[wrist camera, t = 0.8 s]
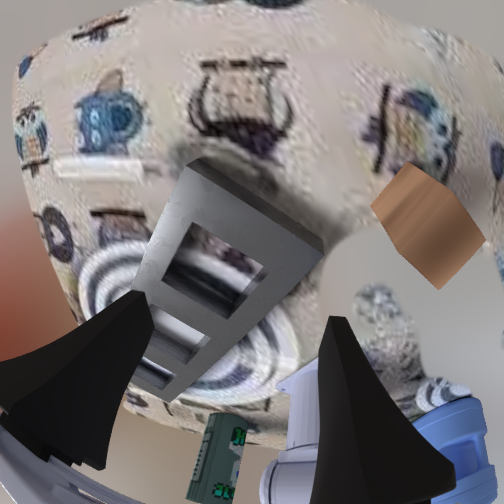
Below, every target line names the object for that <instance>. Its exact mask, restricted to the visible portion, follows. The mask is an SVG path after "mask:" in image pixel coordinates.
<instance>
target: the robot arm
mask: <svg viewBox="0 0 504 504" xmlns="http://www.w3.org/2000/svg"><path fill="white" fill-rule="evenodd" d="M154 327H155V326H154V323H153V320H152V316H151V313H150V309H149V306H148V302H147V299H146V295H145V292H143V291H138V290H131V291H129V292H128V293H126V294H125V295H123V296H122V297H120V298H119V299H117V300H116V301H115V302H113V303H112V304H110V305H109V306H108V307H106V308H105V309H103V310H102V311H101V312H99V313H98V314H96V315H95V316H94V317H92V318H91V319H89V320H88V321H86V322H85V323H83V324H82V325H80V326H79V327H77V328H76V329H74V330H73V331H71V332H69V333H68V334H66V335H65V336H63V337H61V338H59V339H57V340H56V341H54V342H52V343H50V344H48V345H45V346H44V347H41V348H39V349H37V350H35V351H32V352H30V353H27V354H25V355H22V356H19V357H16V358H13V359H9V360H6V361H1V362H0V408H1V409H2V410H3V412H2V414H1V413H0V483H1V484H2V486H3V487H4V488H5V490H6V491H7V492H8V494H9V495H10V496H11V498H12V499H13V500H14V501H15V503H16V504H105V503H107V504H144V503H142V502H139V501H137V500H134V499H132V498H129V497H127V496H125V495H123V494H120V493H118V492H116V491H114V490H112V489H110V488H108V487H106V486H104V485H101V484H100V483H98V482H96V481H94V480H92V479H90V478H89V477H87V476H85V475H83V474H82V473H80V472H78V471H77V470H75V469H73V468H72V467H71V465H72V463H75V464H77V465H78V466H81V464H82V462H83V463H85V464H87V465H89V466H91V467H92V468H94V469H96V470H98V471H99V470H103V469H105V466H106V458H107V452H108V446H109V441H110V437H111V433H112V428H113V425H114V421H115V418H116V415H117V411H118V408H119V405H120V403H121V400H122V397H123V394H124V392H125V390H126V388H127V386H128V384H129V382H130V380H131V378H132V376H133V374H134V372H135V370H136V368H137V366H138V364H139V362H140V361H141V359H142V357H143V355H144V353H145V351H146V349H147V347H148V344H149V341H150V339H151V336H152V333H153V330H154ZM276 389H277V390H280V391H282V392H285V393H287V394H290V395H291V401H290V412H289V422H288V432H287V441H286V450H285V451H280V452H279V459H275V460H273V461H272V462H271V463H270V464H269V465H268V466H267V467H266V468H265V470H264V472H263V475H262V478H261V482H260V491H259V493H260V501H261V504H431V499H432V498H435V497H437V496H440V495H443V494H445V493H447V492H450V491H452V490H454V489H455V488H456V486H457V485H456V473H455V467H454V463H452V462H451V461H450V460H449V459H447V458H446V457H445V456H444V455H443V454H441V453H440V452H439V451H438V450H437V449H435V448H434V447H433V446H432V445H431V444H430V443H429V442H428V441H427V440H426V439H425V438H424V437H423V436H422V435H421V434H420V432H419V431H418V430H417V429H416V428H415V427H414V426H413V425H412V424H411V422H410V421H409V420H408V419H407V418H406V417H405V415H404V414H403V413H402V412H401V410H400V409H399V408H398V406H397V405H396V404H395V402H394V401H393V400H392V398H391V397H390V395H389V394H388V392H387V391H386V389H385V388H384V386H383V385H382V383H381V382H380V380H379V378H378V377H377V375H376V374H375V372H374V370H373V368H372V367H371V365H370V363H369V361H368V360H367V358H366V356H365V354H364V352H363V350H362V349H361V347H360V345H359V343H358V341H357V339H356V337H355V335H354V333H353V331H352V329H351V327H350V324H349V322H348V320H347V319H346V317H340V316H329V318H328V322H327V325H326V328H325V332H324V335H323V338H322V342H321V345H320V348H319V353H318V357H317V358H316V359H314V360H313V361H311V362H310V363H308V364H307V365H306V366H304V367H303V368H301V369H300V370H298V371H297V372H295V373H294V374H292V375H290V376H289V377H287V378H286V379H284V380H283V381H281V382H279V383H278V384H276ZM78 488H80V489H81V490H83V491H85V492H87V493H88V494H90V495H92V496H94V497H96V498H97V499H99V500H101V501H103V502H105V503H103V502H101V501H99V500H97V499H95V498H92V497H90V496H88V495H85V494H83V493H81V492H79V490H78ZM454 504H460V502H457V503H454Z"/></svg>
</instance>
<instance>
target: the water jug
mask: <svg viewBox="0 0 504 504" xmlns="http://www.w3.org/2000/svg"><path fill="white" fill-rule="evenodd" d="M411 424H412V425H413V426H414V427H415V428H416V429H417V430H418V431H419V432H420V434H421V435H422V436H423V437H424V438H425V439H426V440H427V441H428V442H429V443H430V444H431V445H432V446H433V447H434V448H435V449H437V450H438V451H439V452H440V453H441V454H443V455H444V456H445V457H446V458H447V459H449V460H450V461H451V462H452V463H454V467H455V473H456V485H457V486H456V488H455V489H454V490H452V491H450V492H447V493H445V494H443V495H440V496H437V497H435V498H432V499H431V504H454V503H457V502H460V504H491V503H492V502H493V501H494V500H495V499H496V498H497V478H496V475H495V468H494V465H490V464H489V463H488V456H487V451H486V446H485V440H484V436H485V434H486V433H487V426H486V422H485V419H484V415H483V408H482V405H481V402H480V400H479V399H477V398H473V397H470V398H463V399H459V400H456V401H453V402H450V403H448V404H445V405H443V406H441V407H438V408H436V409H434V410H432V411H430V412H428V413H427V414H425V415H423V416H421V417H420V418H418V419H417V420H415V421H414V422H413V423H411Z"/></svg>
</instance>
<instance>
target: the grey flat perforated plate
mask: <svg viewBox="0 0 504 504" xmlns="http://www.w3.org/2000/svg"><path fill="white" fill-rule="evenodd" d="M194 223H196V224H197V225H199V226H200V227H202V228H203V229H205V230H207V231H208V232H210V233H212V234H213V235H215V236H216V237H218V238H220V239H221V240H223V241H224V242H226V243H228V244H229V245H231V246H232V247H234V248H236V249H237V250H239V251H240V252H242V253H244V254H245V255H247V256H248V257H250V258H252V259H253V260H255V261H256V262H258V263H260V264H261V265H263V266H264V267H263V268H262V269H261V271H260V272H259V273H258V274H257V275H256V276H255V278H254V279H253V280H252V281H251V282H250V284H249V285H248V286H247V287H246V288H245V289H244V291H243V292H242V293H241V294H240V295H239V297H238V298H237V299H236V300H235V301H234V302H233V303H231V302H229V301H228V300H226V299H224V298H223V297H221V296H219V295H217V294H216V293H214V292H212V291H211V290H209V289H207V288H206V287H204V286H202V285H201V284H199V283H197V282H196V281H194V280H192V279H191V278H189V277H187V276H186V275H184V274H182V273H181V272H179V271H178V270H176V269H174V268H173V267H171V264H172V263H173V261H174V259H175V257H176V255H177V253H178V251H179V249H180V248H181V246H182V244H183V242H184V240H185V238H186V237H187V235H188V233H189V231H190V229H191V228H192V226H193V224H194ZM323 256H324V250H323V243H322V240H321V239H320V238H318V237H317V236H315V235H314V234H312V233H311V232H310V231H308V230H307V229H305V228H304V227H302V226H301V225H299V224H298V223H297V222H295V221H294V220H292V219H291V218H289V217H288V216H286V215H285V214H283V213H282V212H280V211H279V210H277V209H276V208H274V207H273V206H271V205H270V204H268V203H267V202H265V201H264V200H262V199H261V198H259V197H258V196H256V195H254V194H253V193H251V192H250V191H248V190H247V189H245V188H244V187H242V186H240V185H239V184H237V183H236V182H234V181H233V180H231V179H229V178H228V177H226V176H225V175H223V174H221V173H220V172H218V171H217V170H215V169H213V168H212V167H210V166H208V165H207V164H205V163H203V162H202V161H200V160H198V159H196V160H194V161H193V162H191V163H189V164H188V165H186V166H185V168H184V170H183V172H182V174H181V176H180V178H179V180H178V182H177V184H176V186H175V188H174V190H173V192H172V194H171V196H170V198H169V200H168V202H167V204H166V206H165V208H164V211H163V213H162V215H161V217H160V219H159V221H158V224H157V226H156V228H155V230H154V233H153V235H152V237H151V240H150V242H149V244H148V247H147V249H146V251H145V254H144V256H143V259H142V261H141V264H140V266H139V269H138V271H137V274H136V276H135V279H134V282H133V284H132V287H131V290H138V291H143V292H145V295H146V299H147V302H148V306H149V308H150V306H151V304H153V305H155V306H156V307H158V308H160V309H161V310H163V311H165V312H166V313H168V314H170V315H171V316H173V317H175V318H176V319H178V320H180V321H182V322H183V323H185V324H187V325H188V326H190V327H192V328H194V329H196V330H197V331H199V332H201V333H203V334H205V336H204V337H203V338H202V340H201V341H200V342H199V343H198V344H197V345H196V346H195V348H194V349H193V350H190V349H188V348H187V347H185V346H183V345H181V344H179V343H177V342H176V341H174V340H172V339H170V338H169V337H167V336H165V335H163V334H162V333H160V332H158V331H157V330H155V329H154V330H153V333H152V336H151V339H150V341H149V344H148V347H147V349H146V351H145V353H144V355H143V356H144V357H145V358H147V359H149V360H151V361H152V362H154V363H156V364H158V365H159V366H161V367H163V368H165V369H167V370H169V371H171V372H172V374H171V375H170V376H169V377H168V378H165V377H164V376H162V375H160V374H158V373H156V372H154V371H152V370H151V369H149V368H147V367H145V366H144V365H142V364H140V363H139V364H138V366H137V368H136V370H135V372H134V374H133V376H132V378H131V380H130V382H131V383H133V384H134V385H136V386H138V387H140V388H142V389H143V390H145V391H147V392H149V393H151V394H153V395H155V396H157V397H159V398H161V399H162V400H164V401H167V402H169V403H170V402H171V401H172V400H174V399H175V398H176V397H177V396H178V395H179V394H181V393H182V392H183V391H184V390H185V389H186V388H188V387H189V386H190V385H191V384H192V383H193V382H194V381H196V380H197V379H198V378H199V377H200V376H201V375H202V374H204V373H205V372H206V371H207V370H208V369H209V368H210V367H211V366H212V365H214V364H215V363H216V362H217V361H218V360H219V359H220V358H221V357H222V356H223V355H225V354H226V353H227V352H228V351H229V350H230V349H231V348H232V347H233V346H234V345H235V344H236V343H237V342H239V341H240V340H241V339H242V338H243V337H244V336H245V335H246V334H247V333H248V332H249V331H250V330H251V329H252V328H253V327H254V326H255V325H256V324H257V323H258V322H259V321H260V320H262V319H263V318H264V317H265V316H266V315H267V314H268V313H269V312H270V311H271V310H272V309H273V308H274V307H275V306H276V305H277V304H278V303H279V302H280V301H281V300H282V299H283V298H284V297H285V296H286V295H287V294H288V293H289V292H290V291H291V290H292V289H293V288H294V287H295V286H296V284H297V283H298V282H299V281H300V280H301V279H302V278H303V277H304V276H305V275H306V274H307V273H308V272H309V271H310V270H311V269H312V268H313V267H314V266H315V265H316V264H317V263H318V261H319V260H320V259H321V258H322V257H323ZM131 290H130V291H131Z"/></svg>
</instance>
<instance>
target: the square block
mask: <svg viewBox="0 0 504 504" xmlns="http://www.w3.org/2000/svg"><path fill="white" fill-rule="evenodd" d="M370 206H371V208H372V209H373V211H374V213H375V214H376V216H377V217H378V219H379V221H380V222H381V224H382V226H383V227H384V229H385V230H386V232H387V234H388V236H389V237H390V239H391V241H392V242H393V244H394V246H395V248H396V250H397V251H398V253H399V254H401V255H402V256H403V257H404V258H405V259H406V260H407V261H408V262H409V263H410V264H412V265H413V266H414V267H415V268H416V269H417V270H418V271H419V272H420V273H421V274H422V275H423V276H424V277H425V278H426V279H428V281H430V282H431V283H432V284H433V285H434V286H435V287H436V288H437V289H438V290H439V289H441V288H442V286H444V285H445V284H446V283H447V282H448V281H449V280H450V279H451V278H452V277H453V276H454V275H455V274H456V273H457V272H458V270H460V269H461V267H463V265H464V264H465V263H466V262H467V261H468V260H469V259H470V258H471V257H472V256H473V255H474V253H475V252H476V251H477V250H478V249H479V248H480V247H481V246H482V244H483V243H484V242H485V241H486V239H485V237H484V236H483V234H482V233H481V231H480V230H479V228H478V227H477V225H476V224H475V222H474V221H473V219H472V218H471V216H470V215H469V214H468V212H467V211H466V209H465V208H464V207H463V205H462V204H461V203H460V201H459V200H458V199H457V197H456V196H455V195H454V193H453V192H452V191H451V190H449V189H448V188H447V187H445V186H444V185H442V184H441V183H439V182H438V181H437V180H435V179H434V178H432V177H431V176H429V175H428V174H426V173H425V172H423V171H422V170H420V169H419V168H417V167H415V166H414V165H412V164H411V163H409V162H406V163H405V164H404V166H403V167H402V168H401V169H400V171H399V172H398V173H397V174H396V176H395V177H394V178H393V179H392V180H391V182H390V183H389V184H388V185H387V186H386V188H385V189H384V190H383V191H382V192H381V194H380V195H379V196H378V197H377V198H376V199H375V201H374V202H373V203H372V204H371V205H370Z"/></svg>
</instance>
